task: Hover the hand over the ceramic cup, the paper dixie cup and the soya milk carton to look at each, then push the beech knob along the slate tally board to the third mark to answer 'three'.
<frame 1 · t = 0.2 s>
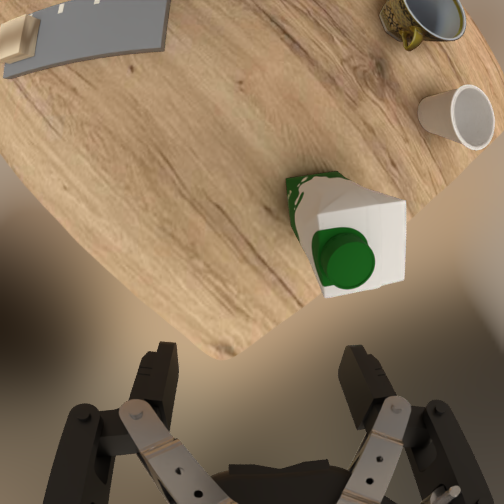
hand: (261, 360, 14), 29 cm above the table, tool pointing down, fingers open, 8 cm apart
ceramic cup: (395, 29, 31), on the table
tally board: (80, 30, 29), on the table
dixie cup: (431, 114, 36), on the table
soya milk: (315, 199, 41), on the table
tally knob: (17, 39, 24), point 4 cm above the table, slide at 0.0 cm
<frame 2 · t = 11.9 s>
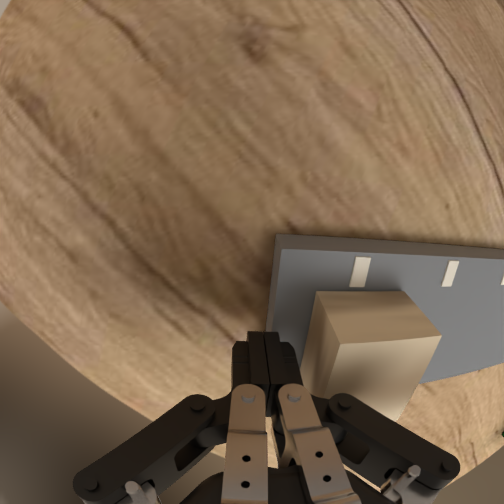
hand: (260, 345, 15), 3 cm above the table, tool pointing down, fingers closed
tally board: (446, 311, 19), on the table
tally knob: (361, 362, 14), point 4 cm above the table, slide at 0.4 cm, touching gripper
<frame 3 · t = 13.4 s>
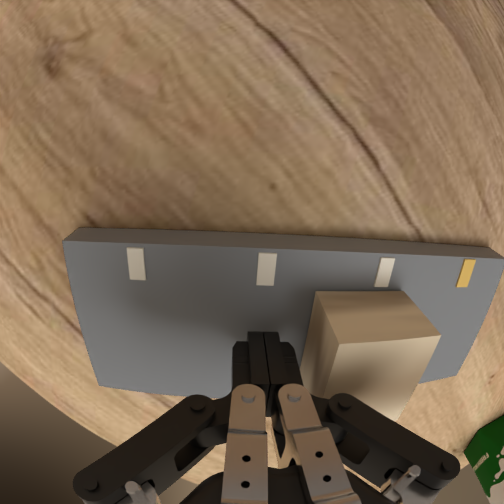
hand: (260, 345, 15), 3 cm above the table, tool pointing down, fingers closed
tally board: (307, 316, 18), on the table
soya milk: (487, 431, 30), on the table
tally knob: (361, 362, 14), point 4 cm above the table, slide at 11.0 cm, touching gripper
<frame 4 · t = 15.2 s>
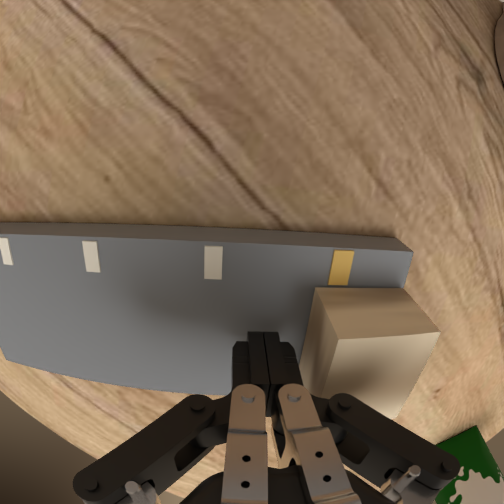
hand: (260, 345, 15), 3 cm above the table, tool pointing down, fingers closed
tally board: (162, 308, 17), on the table
soya milk: (448, 446, 29), on the table
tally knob: (360, 359, 14), point 4 cm above the table, slide at 19.3 cm, touching gripper
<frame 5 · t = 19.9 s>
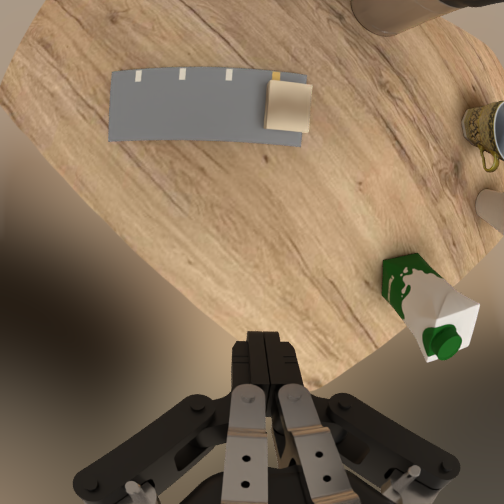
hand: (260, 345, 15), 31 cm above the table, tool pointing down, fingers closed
ceramic cup: (470, 132, 40), on the table
tally board: (204, 104, 38), on the table
dixie cup: (484, 203, 45), on the table
soya milk: (399, 273, 50), on the table
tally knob: (287, 107, 35), point 4 cm above the table, slide at 19.4 cm
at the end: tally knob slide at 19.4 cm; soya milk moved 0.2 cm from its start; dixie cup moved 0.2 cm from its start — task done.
